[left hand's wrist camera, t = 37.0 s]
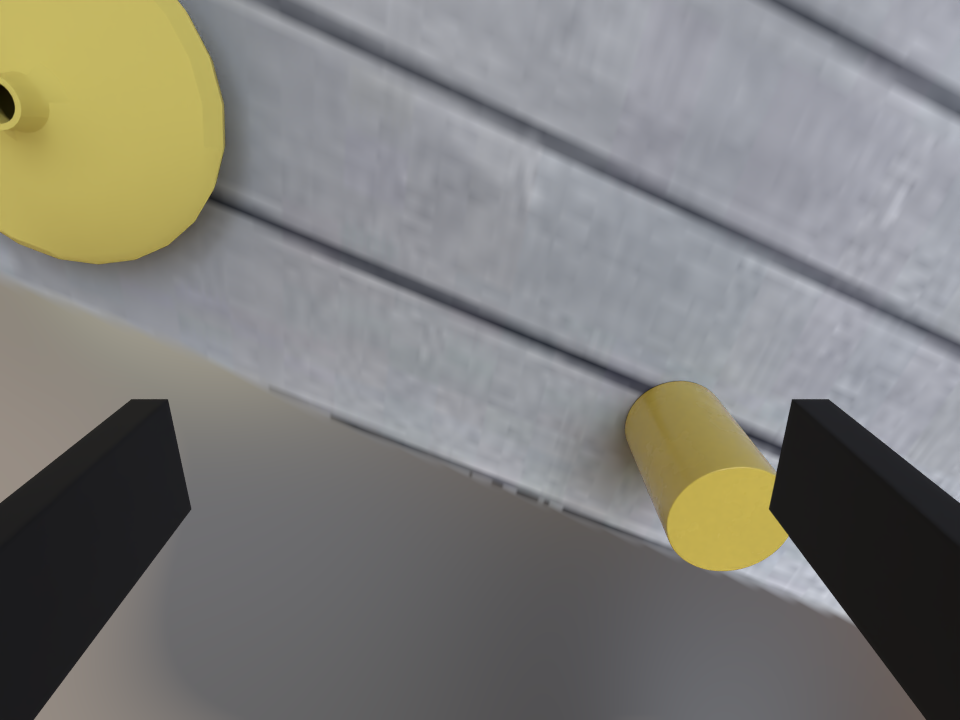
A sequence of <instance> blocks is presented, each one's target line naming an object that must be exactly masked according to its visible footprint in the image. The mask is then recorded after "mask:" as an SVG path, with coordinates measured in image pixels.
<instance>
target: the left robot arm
mask: <svg viewBox="0 0 960 720" xmlns="http://www.w3.org/2000/svg"><path fill="white" fill-rule="evenodd" d="M190 510H191V505H190V501H189V496H188V491H187V487H186V482H185V477H184V473H183V468H182V463H181V459H180V454H179V449H178V444H177V440H176V435H175V431H174V426H173V421H172V416H171V412H170V407H169V402H168V399H131V400H130V401H129V402H128V403H126V404H125V405H124V406H123V407H121V408H120V409H119V410H117V411H116V412H115V413H114V414H112V415H111V416H110V417H109V418H107V419H106V420H105V421H104V422H102V423H101V424H100V425H98V426H97V427H96V428H95V429H94V430H92V431H91V432H90V433H88V434H87V435H86V436H85V437H83V438H82V439H81V440H80V441H78V442H77V443H76V444H74V445H73V446H72V447H71V448H69V449H68V450H67V451H66V452H64V453H63V454H62V455H61V456H59V457H58V458H57V459H55V460H54V461H53V462H52V463H50V464H49V465H48V466H47V467H45V468H44V469H43V470H42V471H40V472H39V473H38V474H37V475H35V476H34V477H33V478H32V479H30V480H29V481H28V482H26V483H25V484H24V485H23V486H21V487H20V488H19V489H18V490H16V491H15V492H14V493H13V494H11V495H10V496H9V497H7V498H6V499H5V500H4V501H2V502H1V503H0V720H34V719H35V717H36V716H37V715H38V713H39V712H40V711H41V709H42V708H43V707H44V705H45V704H46V703H47V701H48V700H49V699H50V697H51V696H52V695H53V693H54V692H55V691H56V689H57V688H58V687H59V685H60V684H61V683H62V681H63V680H64V679H65V677H66V676H67V675H68V673H69V672H70V671H71V669H72V668H73V667H74V665H75V664H76V662H77V661H78V660H79V658H80V657H81V656H82V654H83V653H84V652H85V650H86V649H87V648H88V646H89V645H90V644H91V642H92V641H93V640H94V638H95V637H96V636H97V634H98V633H99V632H100V630H101V629H102V628H103V626H104V625H105V624H106V622H107V621H108V620H109V618H110V617H111V616H112V614H113V613H114V612H115V610H116V609H117V608H118V606H119V605H120V604H121V602H122V601H123V600H124V598H125V597H126V596H127V594H128V593H129V592H130V590H131V589H132V588H133V586H134V585H135V584H136V582H137V581H138V580H139V578H140V577H141V576H142V574H143V573H144V572H145V570H146V569H147V568H148V566H149V565H150V564H151V562H152V561H153V560H154V558H155V557H156V556H157V554H158V553H159V552H160V550H161V549H162V548H163V546H164V545H165V544H166V542H167V541H168V540H169V538H170V537H171V536H172V534H173V533H174V531H175V530H176V529H177V528H178V526H179V525H180V523H181V522H182V521H183V520H184V518H185V517H186V516H187V514H188V513H189V512H190ZM769 510H770V512H771V513H772V514H773V516H774V517H775V518H776V520H777V521H778V522H779V524H780V525H781V526H782V528H783V529H784V530H785V532H786V533H787V534H788V536H789V537H790V538H791V540H792V541H793V542H794V544H795V545H796V546H797V548H798V549H799V550H800V552H801V553H802V554H803V556H804V557H805V558H806V560H807V561H808V562H809V564H810V565H811V566H812V568H813V569H814V570H815V572H816V573H817V574H818V576H819V577H820V578H821V580H822V581H823V582H824V584H825V585H826V586H827V588H828V589H829V590H830V592H831V593H832V594H833V596H834V597H835V598H836V600H837V601H838V602H839V604H840V605H841V606H842V608H843V609H844V610H845V612H846V613H847V614H848V616H849V617H850V618H851V620H852V621H853V622H854V624H855V625H856V626H857V628H858V629H859V630H860V632H861V633H862V634H863V636H864V637H865V638H866V640H867V641H868V642H869V644H870V645H871V646H872V648H873V649H874V650H875V652H876V653H877V654H878V656H879V657H880V658H881V660H882V661H883V662H884V664H885V665H886V667H887V668H888V669H889V671H890V672H891V673H892V674H893V676H894V677H895V679H896V680H897V681H898V683H899V684H900V685H901V687H902V688H903V689H904V691H905V692H906V693H907V695H908V696H909V697H910V699H911V700H912V701H913V703H914V704H915V705H916V707H917V708H918V709H919V711H920V712H921V713H922V715H923V716H924V717H925V719H926V720H960V503H959V502H958V501H956V500H955V499H954V498H953V497H951V496H950V495H949V494H947V493H946V492H945V491H944V490H942V489H941V488H940V487H939V486H937V485H936V484H935V483H934V482H932V481H931V480H930V479H929V478H927V477H926V476H925V475H923V474H922V473H921V472H920V471H918V470H917V469H916V468H915V467H913V466H912V465H911V464H910V463H908V462H907V461H906V460H905V459H903V458H902V457H901V456H899V455H898V454H897V453H896V452H894V451H893V450H892V449H891V448H889V447H888V446H887V445H886V444H884V443H883V442H882V441H881V440H879V439H878V438H877V437H875V436H874V435H873V434H872V433H870V432H869V431H868V430H867V429H865V428H864V427H863V426H862V425H860V424H859V423H858V422H856V421H855V420H854V419H853V418H851V417H850V416H849V415H848V414H846V413H845V412H844V411H843V410H841V409H840V408H839V407H838V406H836V405H835V404H834V403H832V402H831V401H830V400H829V399H792V402H791V407H790V412H789V416H788V421H787V426H786V430H785V435H784V440H783V444H782V449H781V454H780V459H779V463H778V468H777V473H776V477H775V482H774V487H773V491H772V496H771V501H770V505H769Z"/></svg>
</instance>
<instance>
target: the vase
mask: <svg viewBox="0 0 960 720" xmlns="http://www.w3.org/2000/svg"><path fill="white" fill-rule="evenodd" d="M224 149H225V120H224V102H223V99H222V95H221V91H220V87H219V83H218V80H217V76H216V72H215V68H214V65H213V61H212V59H211V57H210V55H209V53H208V51H207V49H206V47H205V45H204V43H203V42H202V40H201V38H200V36H199V34H198V32H197V30H196V28H195V26H194V24H193V22H192V20H191V18H190V17H189V15H188V14H187V12H186V10H185V9H184V8H183V7H182V5H181V4H180V3H179V2H178V1H177V0H0V232H1V233H3V234H4V235H6V236H7V237H9V238H10V239H12V240H14V241H15V242H17V243H18V244H21V245H23V246H26V247H29V248H31V249H34V250H36V251H39V252H42V253H44V254H47V255H50V256H52V257H55V258H57V259H63V260H70V261H77V262H85V263H92V264H105V263H113V262H121V261H129V260H136V259H138V258H140V257H143V256H145V255H147V254H149V253H152V252H154V251H156V250H159V249H161V248H163V247H165V246H168V245H169V244H170V243H171V242H172V241H173V240H175V239H176V238H177V237H178V236H179V235H180V234H181V233H182V232H184V231H185V230H186V229H187V228H188V227H189V226H190V225H191V224H193V223H194V222H195V220H196V219H197V217H198V215H199V213H200V212H201V210H202V208H203V207H204V205H205V203H206V201H207V200H208V198H209V196H210V195H211V193H212V191H213V190H214V187H215V185H216V182H217V178H218V174H219V169H220V165H221V161H222V157H223V153H224Z"/></svg>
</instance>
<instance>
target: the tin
mask: <svg viewBox="0 0 960 720" xmlns="http://www.w3.org/2000/svg"><path fill="white" fill-rule="evenodd" d="M625 435H626V440H627V442H628V445H629V447H630V450H631V452H632V454H633V457H634V459H635V462H636V464H637V466H638V469H639V471H640V473H641V476H642V478H643V480H644V483H645V485H646V488H647V490H648V492H649V495H650V497H651V499H652V502H653V504H654V507H655V509H656V511H657V514H658V516H659V518H660V521H661V523H662V526H663V528H664V530H665V533H666V535H667V537H668V540H669V542H670V544H671V546H672V548H673V549H674V550H675V552H676V553H677V554H678V555H679V556H680V557H681V558H682V559H684V560H685V561H687V562H688V563H690V564H692V565H694V566H697V567H699V568H702V569H707V570H713V571H731V570H737V569H742V568H745V567H749V566H751V565H754V564H756V563H758V562H760V561H762V560H764V559H766V558H767V557H769V556H770V555H772V554H773V553H774V552H775V551H776V550H778V549H779V547H780V546H781V545H782V544H783V543H784V542H785V540H786V539H787V538H788V534H787V533H786V532H785V530H784V529H783V528H782V526H781V525H780V524H779V522H778V521H777V520H776V518H775V517H774V516H773V514H772V513H771V512H770V510H769V505H770V501H771V496H772V491H773V487H774V482H775V477H776V473H777V472H776V471H775V470H774V469H773V467H772V466H771V465H770V464H769V462H768V461H767V460H766V459H765V457H764V456H763V455H762V454H761V452H760V451H759V450H758V449H757V447H756V446H755V445H754V444H753V442H752V441H751V440H750V439H749V437H748V436H747V435H746V434H745V432H744V431H743V430H742V429H741V427H740V426H739V425H738V424H737V422H736V421H735V420H734V419H733V417H732V416H731V415H730V414H729V412H728V411H727V410H726V409H725V407H724V406H723V405H722V404H721V402H720V401H719V400H718V399H717V397H716V396H715V395H714V394H713V393H712V392H711V391H709V390H708V389H707V388H705V387H703V386H701V385H699V384H696V383H692V382H686V381H674V382H668V383H664V384H661V385H658V386H656V387H654V388H652V389H650V390H649V391H647V392H645V393H644V394H643V395H642V396H641V397H640V398H639V399H638V400H637V401H636V402H635V403H634V405H633V406H632V408H631V409H630V411H629V413H628V416H627V419H626V423H625Z"/></svg>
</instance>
